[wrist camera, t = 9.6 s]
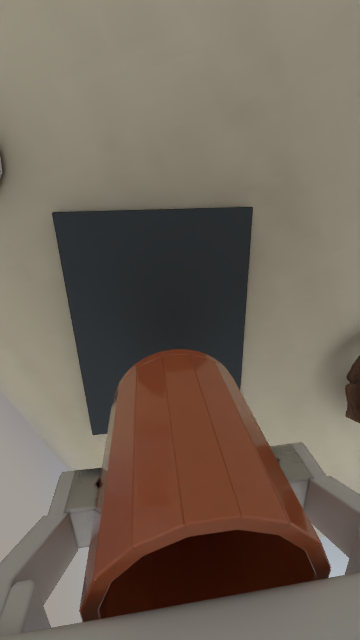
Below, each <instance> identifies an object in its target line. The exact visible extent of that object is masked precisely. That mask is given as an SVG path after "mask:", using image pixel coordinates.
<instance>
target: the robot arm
mask: <svg viewBox="0 0 360 640" xmlns="http://www.w3.org/2000/svg"><path fill="white" fill-rule="evenodd" d="M270 448H271V450H272V452H273V453H274V455H275V457H276V459H277V461H278V463H279V465H280V467H281V468H282V470H283V472H284V474H285V476H286V478H287V480H288V481H289V483H290V485H291V487H292V489H293V491H294V493H295V495H296V496H297V498H298V500H299V502H300V504H301V506H302V508H303V509H304V511H305V513H306V515H307V517H308V519H309V521H310V522H311V523H312V524H313V525H314V526H315V527H316V528H317V529H318V530H319V531H320V532H322V533H323V534H324V535H325V536H326V537H327V538H328V539H329V540H330V541H331V542H332V543H334V544H335V545H336V546H337V547H338V548H339V549H340V550H341V551H342V552H343V553H344V554H346V555H347V556H348V557H349V558H350V559H349V562H348V565H347V569H346V572H345V575H343V576H337V577H331V578H326V579H320V580H315V581H309V582H303V583H298V584H292V585H287V586H281V587H275V588H270V589H264V590H259V591H253V592H248V593H242V594H236V595H231V596H225V597H220V598H214V599H209V600H203V601H198V602H192V603H186V604H181V605H175V606H170V607H164V608H159V609H153V610H148V611H142V612H137V613H131V614H125V615H120V616H114V617H109V618H103V619H98V620H92V621H87V622H81V623H76V624H70V625H64V626H59V627H54V628H51V626H50V624H49V621H48V618H47V615H46V613H45V610H44V607H43V605H44V604H45V602H46V600H47V599H48V597H49V596H50V594H51V592H52V591H53V589H54V588H55V586H56V585H57V583H58V581H59V580H60V578H61V577H62V575H63V573H64V572H65V570H66V569H67V567H68V565H69V564H70V562H71V561H72V559H73V558H74V556H75V554H76V553H77V551H78V548H83V547H88V546H90V540H91V534H92V527H93V521H94V515H95V508H96V502H97V496H98V489H99V483H100V477H101V470H102V468H95V469H85V470H76V471H67V472H62V474H61V475H60V477H59V480H58V484H57V487H56V490H55V493H54V496H53V499H52V503H51V506H50V509H49V513H48V515H47V516H43V517H42V518H41V519H40V520H39V521H38V522H37V523H36V525H35V526H34V527H33V528H32V529H31V530H30V531H29V532H28V533H27V534H26V535H25V537H24V538H23V539H22V540H21V541H20V542H19V543H18V544H17V545H16V546H15V548H13V550H12V551H11V552H10V553H9V554H8V555H7V556H6V557H5V558H4V559H3V560H2V562H1V563H0V640H360V494H358V493H357V492H355V491H354V490H352V489H350V488H349V487H347V486H346V485H344V484H342V483H341V482H339V481H338V480H336V479H334V478H333V477H331V476H326V474H325V473H324V472H323V470H322V469H321V467H320V466H319V464H318V463H317V462H316V460H315V459H314V457H313V456H312V455H311V453H310V452H309V450H308V449H307V447H306V446H305V445H304V444H303V443H302V442H300V443H292V444H284V445H277V446H270Z"/></svg>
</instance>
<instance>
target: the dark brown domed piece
mask: <svg viewBox="0 0 360 640" xmlns="http://www.w3.org/2000/svg"><path fill="white" fill-rule="evenodd" d="M347 379H348V380H349V381H350V383H349V384H347V385H346V387H345V390H346V397H347V411H346V417H348V418H350V419H352V420H354V421H356V422H358V423H360V356H359V357H358V358H357V360H356V361H355V363H354V364H353V365H352V367H351V370H350V371H349V373H348V374H347Z"/></svg>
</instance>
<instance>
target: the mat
mask: <svg viewBox="0 0 360 640" xmlns="http://www.w3.org/2000/svg"><path fill="white" fill-rule="evenodd" d="M252 211H253V208H252V207H232V208H196V209H159V210H123V211H86V212H53V213H52V215H53V221H54V226H55V232H56V237H57V243H58V248H59V253H60V259H61V264H62V270H63V275H64V281H65V286H66V292H67V297H68V303H69V308H70V314H71V319H72V325H73V330H74V335H75V341H76V346H77V352H78V357H79V363H80V368H81V374H82V379H83V385H84V390H85V396H86V401H87V407H88V412H89V417H90V423H91V428H92V434H93V435H98V434H107V432H108V426H109V420H110V413H111V407H112V404H113V401H114V396H115V392H116V389H117V387H118V384H119V382H120V381H121V379H122V378H123V376H124V375H125V374H126V373H127V371H128V370H129V369H130V368H131V367H133V366H134V365H135V364H136V363H138V362H139V361H141V360H142V359H144V358H146V357H148V356H150V355H152V354H155V353H157V352H161V351H165V350H172V349H188V350H194V351H199V352H202V353H204V354H207V355H209V356H211V357H213V358H215V359H216V360H217V361H219V362H220V363H221V364H222V365H223V366H224V367H225V368H226V369H227V370H228V372H229V373H230V375H231V376H232V377H233V379H234V381H235V383H236V384H237V386H238V388H239V390H240V385H241V371H242V356H243V342H244V327H245V313H246V298H247V284H248V269H249V255H250V240H251V226H252Z"/></svg>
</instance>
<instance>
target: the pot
mask: <svg viewBox="0 0 360 640" xmlns="http://www.w3.org/2000/svg"><path fill="white" fill-rule="evenodd" d="M330 568H331V567H330V564H329V561H328V559H327V556H326V554H325V551H324V549H323V546H322V543H321V541H320V539H319V537H318V536H317V534H316V532H315V530H314V528H313V526H312V524H311V523H310V521H309V519H308V517H307V515H306V513H305V511H304V509H303V508H302V506H301V504H300V502H299V500H298V498H297V496H296V495H295V493H294V491H293V489H292V487H291V485H290V483H289V481H288V480H287V478H286V476H285V474H284V472H283V470H282V468H281V467H280V465H279V463H278V461H277V459H276V457H275V455H274V453H273V452H272V450H271V448H270V446H269V444H268V442H267V440H266V439H265V437H264V435H263V433H262V431H261V429H260V427H259V425H258V424H257V422H256V420H255V418H254V416H253V414H252V412H251V411H250V409H249V407H248V405H247V403H246V401H245V399H244V397H243V396H242V394H241V392H240V390H239V388H238V386H237V384H236V383H235V381H234V379H233V377H232V376H231V375H230V373H229V372H228V370H227V369H226V368H225V367H224V366H223V365H222V364H221V363H220V362H219V361H217V360H216V359H215V358H213V357H211V356H209V355H207V354H204V353H202V352H199V351H194V350H188V349H172V350H165V351H161V352H157V353H155V354H152V355H150V356H148V357H146V358H144V359H142V360H141V361H139V362H138V363H136V364H135V365H134V366H133V367H131V368H130V369H129V370H128V371H127V373H126V374H125V375H124V376H123V378H122V379H121V381H120V382H119V384H118V387H117V389H116V392H115V396H114V401H113V404H112V407H111V413H110V420H109V426H108V432H107V439H106V445H105V451H104V458H103V464H102V470H101V477H100V483H99V489H98V496H97V502H96V508H95V515H94V521H93V527H92V534H91V540H90V546H89V552H88V559H87V565H86V571H85V578H84V585H83V591H82V597H81V603H80V610H79V611H80V615H81V618H82V622H87V621H92V620H98V619H103V618H109V617H114V616H120V615H125V614H131V613H137V612H142V611H148V610H153V609H159V608H164V607H170V606H175V605H181V604H186V603H192V602H198V601H203V600H209V599H214V598H220V597H225V596H231V595H236V594H242V593H248V592H253V591H259V590H264V589H270V588H275V587H281V586H287V585H292V584H298V583H303V582H309V581H315V580H320V579H326V578H329V574H330V571H331V569H330Z"/></svg>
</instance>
